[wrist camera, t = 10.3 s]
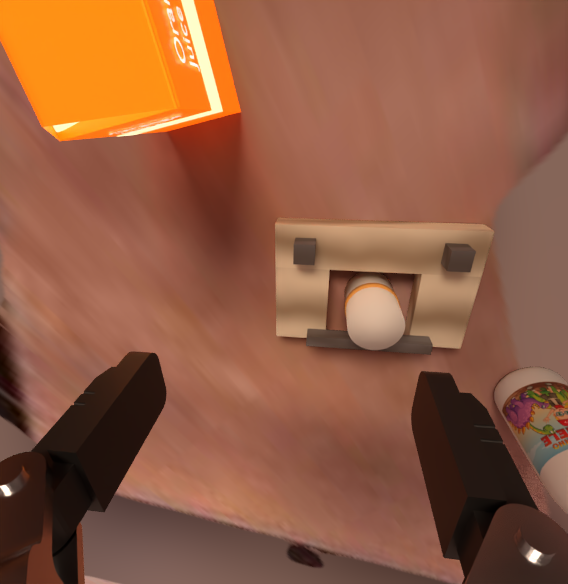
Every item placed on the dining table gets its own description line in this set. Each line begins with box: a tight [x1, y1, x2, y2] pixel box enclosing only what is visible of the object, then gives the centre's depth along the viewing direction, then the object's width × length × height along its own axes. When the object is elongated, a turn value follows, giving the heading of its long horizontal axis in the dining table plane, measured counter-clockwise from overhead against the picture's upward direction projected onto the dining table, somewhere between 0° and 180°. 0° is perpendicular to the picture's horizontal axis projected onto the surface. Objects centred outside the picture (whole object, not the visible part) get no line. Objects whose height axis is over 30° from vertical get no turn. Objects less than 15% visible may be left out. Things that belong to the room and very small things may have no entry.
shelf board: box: [275, 218, 495, 355], centre depth 35 cm, size 13×20×4 cm, turn 90°
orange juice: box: [0, 0, 241, 141], centre depth 21 cm, size 8×9×20 cm
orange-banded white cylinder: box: [345, 272, 405, 350], centre depth 34 cm, size 5×5×7 cm
